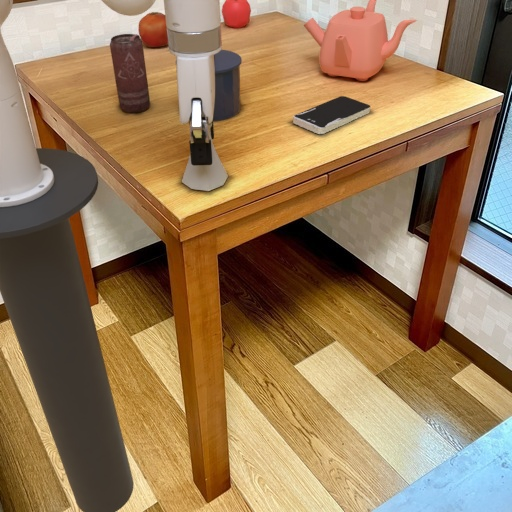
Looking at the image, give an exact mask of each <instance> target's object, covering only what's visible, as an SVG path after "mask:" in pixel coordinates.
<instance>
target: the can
mask: <svg viewBox="0 0 512 512" xmlns="http://www.w3.org/2000/svg"><path fill="white" fill-rule="evenodd" d="M109 49H110V55H111V60H112V61H111V62H112V67H113V68H112V69H113V74H114V79H115V85H116V93H117V98H118V106H119V109H120V110H121V111H122V112H124V113H127V114H140V113H143V112H146V111H147V110H148V109H149V108H150V106H151V99H150V91H149V84H148V82H149V81H148V76H147V75H148V74H147V67H146V58H145V52H144V42H143V41H142V40H141V37H140V35H139V34H137V33H136V34H135V33H122V34H117V35H114V36H112V37H111V38H110V42H109Z"/></svg>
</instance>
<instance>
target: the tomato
mask: <svg viewBox="0 0 512 512" xmlns="http://www.w3.org/2000/svg"><path fill="white" fill-rule="evenodd" d="M138 35H139V37H140V39H141V40H142V43H143V44H144V45H145V46H146V47H149V48H151V47H152V48H158V47H164V46H167V45H168V37H167V26H166V17H165V13H162V12H159V11H151V12H148V13H147V14H146V15H144V16H143V17H142V18H141V19H140V20H139V22H138Z"/></svg>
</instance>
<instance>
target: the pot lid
mask: <svg viewBox="0 0 512 512" xmlns="http://www.w3.org/2000/svg"><path fill="white" fill-rule="evenodd" d="M242 62H243V60H242V57H241V56H240V54H238V53H237V52H234V51H232V50H228V49H221V51H219V52H218V53H216V54H214V67H215V74H218V73H223V72H228V71H231V70H233V69H235V68H237V67H239V66H241V65H242Z"/></svg>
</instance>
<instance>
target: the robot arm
mask: <svg viewBox="0 0 512 512" xmlns="http://www.w3.org/2000/svg"><path fill="white" fill-rule="evenodd" d="M101 1H102V2H103V4H104V5H105V6H106V7H108V8H109V9H110V10H112V11H113V12H115V13H117V14H119V15H123V16H129V17H133V16H139V15H142V14H144V13H146V12H147V11H148V10H150V9H151V8H152V7H153V5H154V4H155V2H156V0H101ZM13 3H14V0H0V207H11V206H17V205H21V204H25V203H28V202H31V201H33V200H35V199H37V198H39V197H41V196H43V195H44V194H46V193H47V192H48V191H49V190H50V189H51V187H52V186H53V184H54V175H53V172H52V170H51V169H50V168H49V167H47V166H45V165H43V164H40V162H39V158H38V154H37V150H36V148H37V147H36V143H35V140H34V135H33V131H32V127H31V124H30V119H29V116H28V112H27V108H26V104H25V101H24V97H23V93H22V90H21V85H20V82H19V79H18V75H17V71H16V68H15V65H14V62H13V60H12V59H13V58H12V57H11V54H10V52H9V49H8V47H7V46H6V43H5V40H4V37H3V34H2V29H1V27H2V25H3V24H4V23H5V22H6V20H7V18H8V17H9V15H10V13H11V12H12V9H13V5H14V4H13ZM163 6H164V15H165V17H166V26H167V37H168V44H167V45H168V52H169V53H170V54H171V55H173V56H175V57H176V59H175V67H176V83H177V84H176V85H177V97H178V112H179V113H178V114H179V123H180V124H181V125H182V126H183V125H184V126H185V125H186V124H189V140H188V142H189V152H190V154H189V156H190V155H191V164H192V165H194V166H196V165H212V147H211V140H209V124H210V123H212V126H211V128H210V131H211V138H212V141H213V140H214V138H215V129H214V121H213V113H214V103H215V67H214V54H216V53H218V52H219V51H221V50H223V43H222V41H223V40H222V39H223V38H222V24H221V3H220V0H163ZM202 125H205V132H204V130H202Z"/></svg>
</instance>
